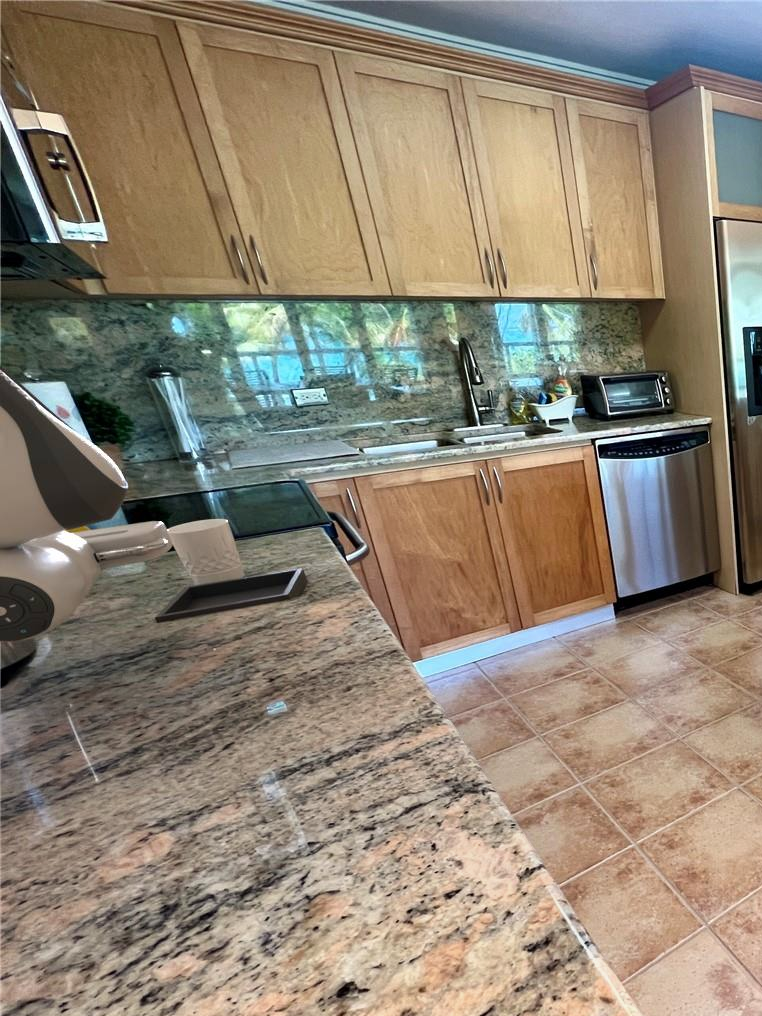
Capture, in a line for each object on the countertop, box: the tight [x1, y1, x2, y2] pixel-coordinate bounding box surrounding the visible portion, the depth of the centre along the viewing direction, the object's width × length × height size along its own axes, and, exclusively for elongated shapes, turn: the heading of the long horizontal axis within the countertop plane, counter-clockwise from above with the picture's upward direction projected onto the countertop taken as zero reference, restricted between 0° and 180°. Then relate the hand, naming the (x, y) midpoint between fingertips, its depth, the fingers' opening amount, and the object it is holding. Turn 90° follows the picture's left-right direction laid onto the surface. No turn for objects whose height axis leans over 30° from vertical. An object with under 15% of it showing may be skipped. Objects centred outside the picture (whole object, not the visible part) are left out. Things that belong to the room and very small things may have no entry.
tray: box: [154, 567, 308, 624], centre depth 100 cm, size 16×14×2 cm
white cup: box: [166, 518, 246, 585], centre depth 109 cm, size 8×8×10 cm
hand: (68, 539), depth 82 cm, fingers closed on lemon, 5 cm apart
